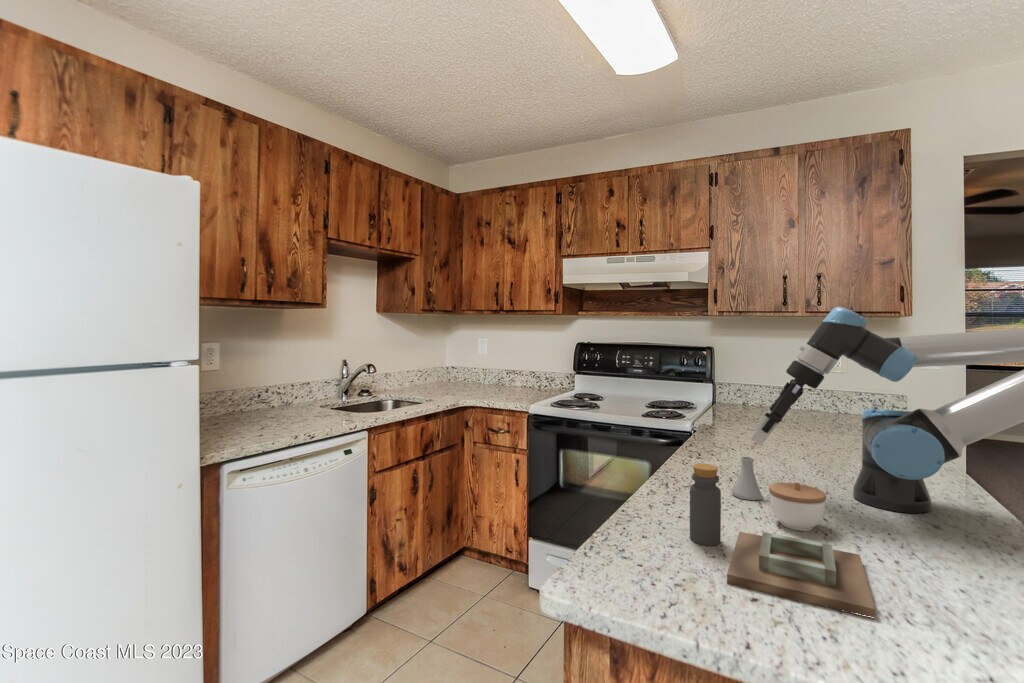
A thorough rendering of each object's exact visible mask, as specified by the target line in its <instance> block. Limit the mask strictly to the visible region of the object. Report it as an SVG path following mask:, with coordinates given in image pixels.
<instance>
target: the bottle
mask: <svg viewBox="0 0 1024 683" xmlns="http://www.w3.org/2000/svg"><path fill="white" fill-rule="evenodd" d="M692 469H693V473H692V474H691V479H692V480H693V482H694V483H692V485H690V487H689V539H690V540H691V541H692V542H694V543H696V544H698V545H703V546H710V547H712V546H717V545H718V546H719V544H720V543H721V537H722V536H721V534H722V533H721V532H722V531H721V530H722V529H721V527H722V526H721V524H722V523H721V522H722V520H721V519H722V515H721V514H722V503H721V502H722V493H721V492H722V491H721V489H720V488H719V487H718V486H717V484H718V483H719V482H720V478H719V477H720V476H718V470H719V467H718V466H716V465H714V464H709V463H694V464H693V465H692Z"/></svg>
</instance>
